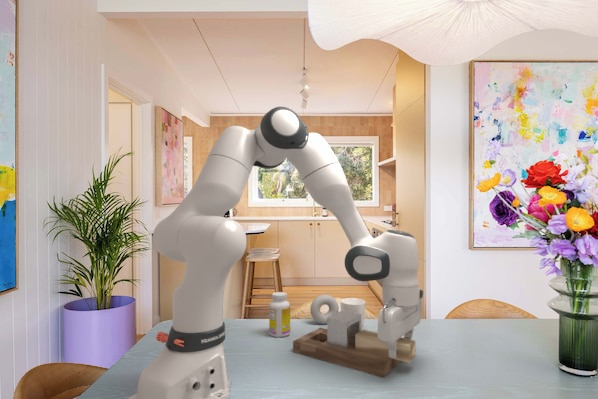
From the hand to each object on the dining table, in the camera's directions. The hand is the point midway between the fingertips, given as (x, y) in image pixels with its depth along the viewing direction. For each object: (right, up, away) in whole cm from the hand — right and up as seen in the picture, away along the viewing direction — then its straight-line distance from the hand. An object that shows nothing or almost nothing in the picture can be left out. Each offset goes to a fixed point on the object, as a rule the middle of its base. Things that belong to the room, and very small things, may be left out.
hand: (400, 350), depth 96 cm
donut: (-17, -5, +36) cm, 40 cm away
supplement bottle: (-32, -5, +25) cm, 41 cm away
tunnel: (-13, -2, +9) cm, 16 cm away
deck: (-12, -5, +9) cm, 16 cm away
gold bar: (-3, -2, +3) cm, 4 cm away
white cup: (-8, -5, +27) cm, 29 cm away
